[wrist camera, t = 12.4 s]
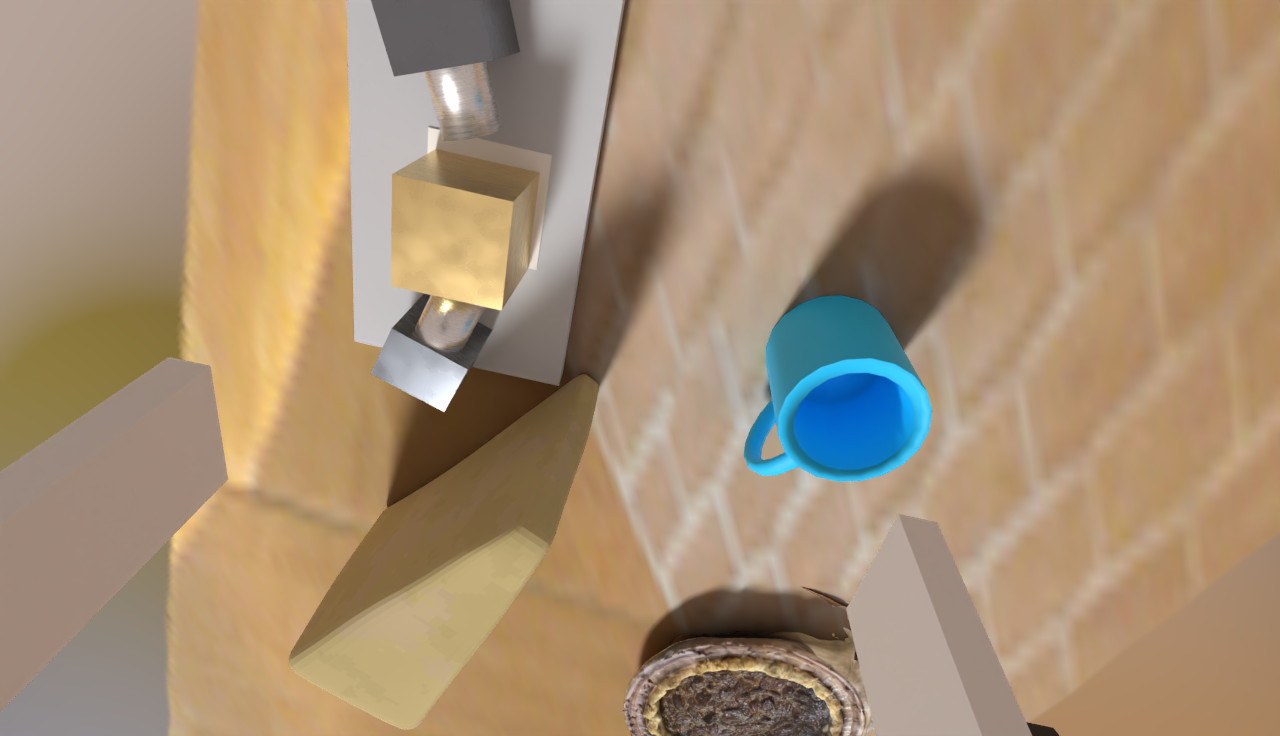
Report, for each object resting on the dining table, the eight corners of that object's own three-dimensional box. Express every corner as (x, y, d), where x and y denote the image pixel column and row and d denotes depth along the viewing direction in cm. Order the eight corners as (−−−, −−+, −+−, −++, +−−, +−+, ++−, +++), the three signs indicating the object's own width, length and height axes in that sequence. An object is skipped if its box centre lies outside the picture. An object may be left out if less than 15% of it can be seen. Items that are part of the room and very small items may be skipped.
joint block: (431, 248, 40) (390, 286, 35) (435, 148, 37) (391, 174, 32) (527, 269, 40) (501, 310, 35) (539, 172, 37) (513, 201, 32)
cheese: (537, 331, 44) (468, 473, 31) (646, 415, 46) (624, 579, 33) (378, 508, 53) (273, 674, 40) (476, 570, 56) (407, 745, 43)
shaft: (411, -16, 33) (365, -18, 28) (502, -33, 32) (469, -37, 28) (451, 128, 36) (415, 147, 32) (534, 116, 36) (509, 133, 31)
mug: (832, 269, 40) (860, 328, 33) (920, 347, 42) (964, 419, 35) (700, 393, 45) (700, 467, 38) (785, 457, 47) (799, 539, 40)
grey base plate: (355, -82, 33) (343, -85, 32) (628, -17, 33) (625, -18, 32) (362, 333, 45) (353, 342, 44) (562, 376, 45) (558, 386, 44)
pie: (740, 794, 70) (742, 847, 66) (535, 675, 63) (522, 724, 59) (959, 681, 58) (979, 735, 54) (736, 518, 51) (738, 565, 47)
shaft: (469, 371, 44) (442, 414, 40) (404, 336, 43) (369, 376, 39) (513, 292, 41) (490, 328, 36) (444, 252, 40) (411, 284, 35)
